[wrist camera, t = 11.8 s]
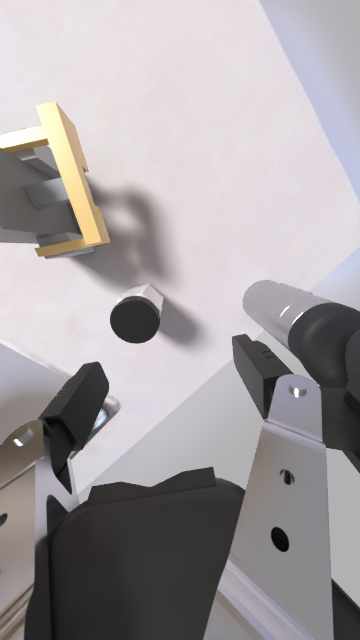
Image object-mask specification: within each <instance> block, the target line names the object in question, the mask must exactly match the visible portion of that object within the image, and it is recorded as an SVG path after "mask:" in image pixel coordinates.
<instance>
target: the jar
mask: <svg viewBox="0 0 360 640" xmlns="http://www.w3.org/2000/svg"><path fill="white" fill-rule="evenodd" d="M163 299H164V297H163V296H162V295H161V294H160V293H158V292H157V291H156V290H155V289H154V288H153V287H152V286H151V285H150V284H144V285H141V286H137V287H133V288H130V289H129V290H128V291H127V292H125V293H124V294H123V295H122V296H121V297H120V298H119V299H118V300H117V305H116V306H115V307H114V308H113V310H112V312H111V315H110V324H111V327H112V329H113V331H114V333H115V334H116V335H117V336H118V337H119V338H121V339H122V340H124V341H126V342H129V343H144V342H146V341H148V340H150V339H151V338H153V337H154V335H155V334H156V332H157V330H158V328H159V324H160V317H161V312H162V305H163Z"/></svg>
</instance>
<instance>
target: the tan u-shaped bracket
mask: <svg viewBox="0 0 360 640" xmlns="http://www.w3.org/2000/svg"><path fill="white" fill-rule="evenodd" d="M36 109H37V111H38V114H39V117H40V120H41V122H42V126H38V127H33V128H29V129H25V130H20V131H16V132H12V133H7V134H3V135H0V148H2V149H4V150H5V151H7V152H9V153H13V152H18V151H22V150H26V149H31V148H35V147H40V146H44V145H49V144H50V147H51V150H52V153H53V155H54V158H55V161H56V163H57V166H58V169H59V172H60V174H61V177H62V180H63V183H64V185H65V188H66V191H67V194H68V196H69V199H70V202H71V205H72V207H73V210H74V213H75V216H76V218H77V221H78V224H79V227H80V229H81V232H82V235H83V239H78V240H73V241H68V242H64V243H59V244H54V245H49V246H44V247H39V248H35V250H36V252H37V254H38V256H39V257H41V256H48V255H53V254H58V253H63V252H68V251H72V250H77V249H82V248H87V247H92V246H97V245H102V244H107V243H111V241H110V238H109V235H108V232H107V228H106V225H105V222H104V219H103V216H102V212H101V209H100V208H99V207H97V206H96V205H94V201H93V198H92V195H91V192H90V189H89V186H88V183H87V180H86V177H85V172H89V171H88V167H87V164H86V161H85V158H84V155H83V151H82V148H81V145H80V142H79V138H78V135H77V132H76V129H75V126H74V124H73V123H72V122H71V121H70V119H69V118H68V117H67V116H66V114H65V113H64V112H63V111H62V109H61V108H60V107H59V106H58V104H57V103H56V102H55V101H54V102H50V103H45V104H41V105H37V106H36Z"/></svg>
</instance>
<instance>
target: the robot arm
mask: <svg viewBox="0 0 360 640" xmlns="http://www.w3.org/2000/svg"><path fill="white" fill-rule="evenodd" d="M243 307H244V310H245V312H246V313H247V314H248V315H249V316H250V317H251V318H253V319H254V320H255V321H256V322H257V323H258V324H259V325H260V326H262V327H263V328H264V329H265V330H266V331H267V332H268V333H269V334H271V335H272V336H273V337H274V338H275V339H276V340H277V341H279V342H280V343H281V344H282V345H283V346H284V347H285V348H287V349H288V350H289V351H290V352H292V354H294V355H295V356H296V357H297V358H298V359H299V360H300V362H301V363H302V365H303V366H304V368H305V369H306V371H307V372H308V373H309V374H310V376H311V377H312V378H313V379H314V380H315V381H316V382H317V383H318V384H319V385H320V386H321V387H318V385H316V383H314V382H313V381H312V380H310V379H308V378H306V377H303V376H300V375H294V374H293V373H292V372H291V371H290V369H289V368H288V367H287V366H286V365H285V364H284V363H283V362H282V361H281V360H280V359H279V358H278V357H277V356H276V355H275V354H274V353H273V352H271V350H270V349H269V348H268V347H267V346H266V345H265V344H263V343H261V342H259V341H252V340H251V339H250V338H249V337H248V336H247V334H242V335H237V336H233V337H232V345H233V357H234V363H235V366H236V369H237V371H238V373H239V375H240V376H241V378H242V380H243V382H244V384H245V386H246V388H247V390H248V391H249V393H250V395H251V397H252V399H253V401H254V403H255V405H256V407H257V408H258V410H259V412H260V414H261V416H262V418H263V420H264V419H267V421H266V420H265V421H264V423H263V426H262V430H261V434H260V438H259V442H258V445H257V449H256V453H255V457H254V461H253V465H252V468H251V472H250V477H249V480H248V484H247V488H246V490H244V489H243V488H241V487H240V486H238V485H236V484H234V483H232V482H230V481H227V480H224V479H220V478H215V475H214V470H213V467H209V468H203V469H196V470H191V471H185V472H181V473H179V474H177V475H175V476H173V477H171V478H169V479H167V480H165V481H163V482H161V483H159V484H157V485H155V486H152V487H145V486H141V485H136V484H130V483H125V482H116V483H111V484H104V485H98V486H92V488H91V491H90V494H89V497H88V500H87V501H85V502H83V503H82V504H80V503H79V500H78V496H77V491H76V485H75V480H74V474H73V469H72V464H71V460H70V459H69V455H70V453H71V451H77V450H83V448H84V445H85V443H86V441H87V439H88V436H89V434H90V432H91V430H92V427H93V425H94V423H95V421H96V418H97V416H98V414H99V412H100V409H101V407H102V405H103V403H104V400H105V398H106V396H107V394H108V391H109V382H108V380H107V378H106V375H105V373H104V371H103V369H102V367H101V364H100V363H99V362H92V363H87V364H84V365H82V367H81V368H80V369H79V371H78V372H77V373H76V374H75V375H74V376H73V377H72V378H70V379H69V380H68V381H67V382H66V383H65V385H64V386H63V387H62V390H60V391H59V392H58V394H57V396H55V397H54V399H53V400H52V401H51V402H50V404H49V405H48V406H47V408H46V409H45V410H44V411H43V413H42V414H41V415H40V417H39V418H38V419H36V420H32V421H29V422H27V423H25V424H23V425H21V426H20V427H18V428H17V429H16V430H14V431H13V432H12V433H11V434H10V435H9V436H8V437H7V438H6V439H5V440H4V441H3V443H2V445H0V640H360V607H359V606H358V605H357V604H356V603H355V602H354V601H353V600H352V599H351V598H350V597H349V596H348V595H347V594H346V593H345V592H344V591H343V590H342V588H341V587H340V586H339V585H338V584H337V583H336V582H335V581H334V580H333V579H332V578H331V561H330V537H329V514H328V513H329V512H328V488H327V463H326V448H331V449H337V450H342V451H343V452H344V454H345V455H346V456H347V458H348V459H349V460H350V461H351V463H352V464H353V465H354V467H355V468H356V469H357V470H358V472H359V473H360V312H359V311H357V310H356V309H353V308H350V307H348V306H345V305H342V304H338V303H336V302H333V301H329V300H327V299H324V298H321V297H317V296H314V295H313V294H312V293H310V292H307V291H303V290H300V289H297V288H294V287H291V286H288V285H285V284H282V283H281V284H279V283H276V282H273V281H269V280H264V281H260V282H257V283H255V284H254V285H252V286H251V287H250V288H249V289H248V290H247V292H246V293H245V295H244V299H243Z"/></svg>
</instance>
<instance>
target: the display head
mask: <svg viewBox="0 0 360 640" xmlns="http://www.w3.org/2000/svg"><path fill="white" fill-rule="evenodd" d="M25 129H26V128H22V129H17V130H13V131H9V132H5V133H1V134H0V135H3V134H7V133H12V132H16V131H20V130H25ZM85 177H86V176H85ZM86 180H87V177H86ZM87 183H88V180H87ZM88 186H89V183H88ZM89 189H90V186H89ZM90 192H91V190H90ZM91 195H92V193H91ZM92 198H93V196H92ZM67 203H71V202H70V199H69V196H68V194H67V191H66V188H65V185H64V183H63V180H62V177H61V174H60V172H59V169H58V166H57V163H56V161H55V158H54V155H53V153H52V150H51V149H50V148H49V147H48V146H47V145H44V146H40V147H35V148H31V149H26V150H22V151H18V152H13V153H9V152H7V151H5V150H4V149H2V148H0V242H5V243H35V244H39V246H40V247H44V246H49V245H54V244H59V243H64V242H68V241H73V240H78V239H83V235H82V234H78V231H77V229H76V226H75V223H74V221H73V218H72V216H71V213H70V210H69V208H68V205H67ZM91 252H95V249H94V246H92V247H87V248H82V249H77V250H72V251H68V252H63V253H58V254H53V255H48V256H44V257H45V259H50V258H62V257H73V256H77V255H82V254H87V253H91Z"/></svg>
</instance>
